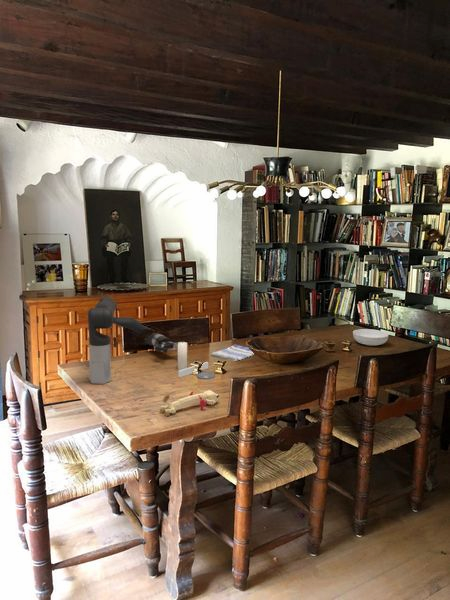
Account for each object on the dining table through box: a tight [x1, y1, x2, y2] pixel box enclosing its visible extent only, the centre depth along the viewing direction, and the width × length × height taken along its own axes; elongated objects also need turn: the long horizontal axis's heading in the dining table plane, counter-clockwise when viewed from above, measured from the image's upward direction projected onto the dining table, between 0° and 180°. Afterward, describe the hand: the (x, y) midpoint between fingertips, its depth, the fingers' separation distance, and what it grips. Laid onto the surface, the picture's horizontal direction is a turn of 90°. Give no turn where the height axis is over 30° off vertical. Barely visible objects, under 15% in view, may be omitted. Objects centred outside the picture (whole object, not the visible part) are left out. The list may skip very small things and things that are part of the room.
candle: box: [176, 341, 188, 371], centre depth 238 cm, size 5×5×14 cm
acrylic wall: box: [177, 361, 209, 378], centre depth 234 cm, size 1×20×3 cm, turn 140°
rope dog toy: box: [159, 389, 220, 417], centre depth 191 cm, size 10×9×25 cm
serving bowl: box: [352, 328, 390, 347], centre depth 296 cm, size 21×21×7 cm
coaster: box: [195, 371, 216, 380], centre depth 230 cm, size 9×9×1 cm
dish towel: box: [210, 344, 255, 362], centre depth 267 cm, size 17×24×3 cm
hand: (174, 350), depth 247 cm, fingers open, 8 cm apart
